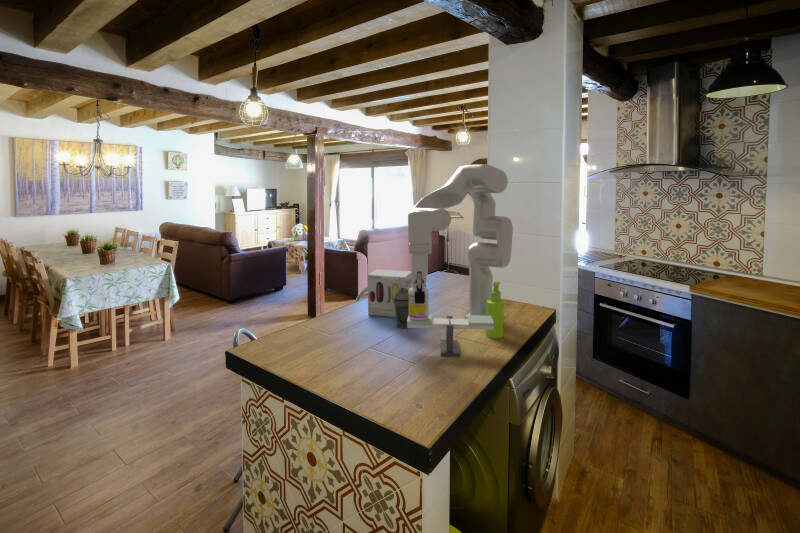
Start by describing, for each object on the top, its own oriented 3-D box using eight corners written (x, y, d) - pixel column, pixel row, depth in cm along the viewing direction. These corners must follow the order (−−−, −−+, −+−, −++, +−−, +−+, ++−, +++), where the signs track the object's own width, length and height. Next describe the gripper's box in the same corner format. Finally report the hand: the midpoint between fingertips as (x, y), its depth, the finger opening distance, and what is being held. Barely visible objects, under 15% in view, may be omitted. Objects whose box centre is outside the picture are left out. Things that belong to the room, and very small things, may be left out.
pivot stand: (457, 342, 145) (458, 315, 143) (459, 356, 133) (459, 326, 131) (440, 342, 145) (440, 315, 143) (440, 355, 134) (440, 326, 132)
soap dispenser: (503, 333, 154) (505, 281, 150) (501, 339, 147) (504, 285, 144) (487, 331, 156) (489, 280, 152) (485, 337, 149) (486, 284, 146)
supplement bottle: (415, 314, 142) (415, 277, 140) (432, 317, 139) (432, 280, 136) (404, 319, 137) (404, 281, 135) (421, 322, 133) (421, 283, 131)
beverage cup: (410, 330, 158) (410, 279, 154) (391, 329, 159) (391, 278, 156) (413, 324, 165) (413, 275, 161) (395, 323, 166) (395, 274, 163)
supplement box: (367, 315, 177) (366, 274, 174) (377, 307, 190) (377, 268, 186) (405, 318, 172) (405, 276, 169) (414, 310, 185) (414, 270, 181)
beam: (490, 322, 140) (491, 315, 140) (493, 330, 132) (494, 323, 132) (408, 321, 143) (408, 314, 142) (407, 328, 135) (407, 321, 135)
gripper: (410, 244, 143) (411, 292, 146) (406, 252, 126) (407, 306, 129) (432, 244, 142) (432, 292, 145) (431, 252, 125) (431, 306, 128)
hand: (420, 299), depth 137 cm, fingers open, 9 cm apart
